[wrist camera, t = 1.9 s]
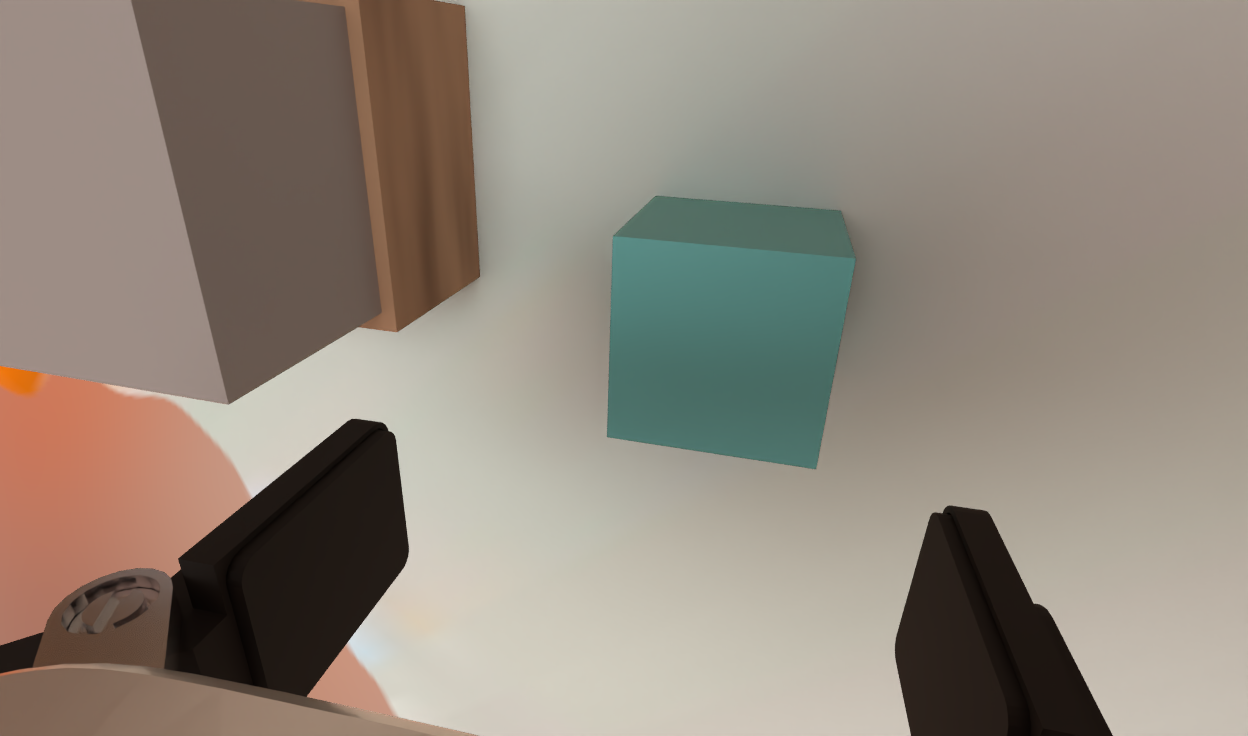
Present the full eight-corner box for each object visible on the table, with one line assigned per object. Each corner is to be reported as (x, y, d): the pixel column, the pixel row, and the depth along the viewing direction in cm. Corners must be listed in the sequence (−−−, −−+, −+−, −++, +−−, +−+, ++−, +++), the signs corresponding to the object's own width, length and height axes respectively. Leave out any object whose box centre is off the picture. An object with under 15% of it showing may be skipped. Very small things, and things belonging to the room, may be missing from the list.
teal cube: (840, 210, 21) (855, 259, 16) (811, 378, 24) (815, 469, 18) (656, 195, 22) (613, 236, 17) (647, 357, 25) (607, 437, 20)
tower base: (466, 6, 21) (357, -14, 16) (481, 275, 25) (396, 332, 20) (227, -1, 23) (56, -21, 18) (274, 252, 27) (146, 298, 22)
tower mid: (345, 6, 16) (126, -22, 11) (381, 312, 20) (228, 404, 14) (79, -3, 18) (-228, -32, 12) (156, 283, 21) (-57, 355, 16)
